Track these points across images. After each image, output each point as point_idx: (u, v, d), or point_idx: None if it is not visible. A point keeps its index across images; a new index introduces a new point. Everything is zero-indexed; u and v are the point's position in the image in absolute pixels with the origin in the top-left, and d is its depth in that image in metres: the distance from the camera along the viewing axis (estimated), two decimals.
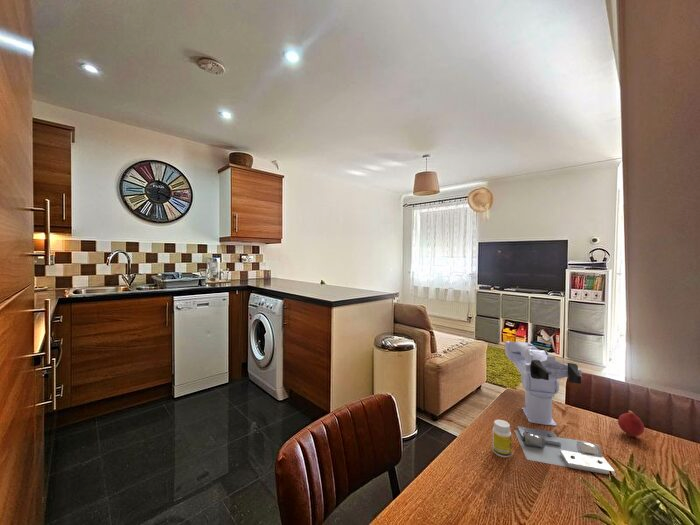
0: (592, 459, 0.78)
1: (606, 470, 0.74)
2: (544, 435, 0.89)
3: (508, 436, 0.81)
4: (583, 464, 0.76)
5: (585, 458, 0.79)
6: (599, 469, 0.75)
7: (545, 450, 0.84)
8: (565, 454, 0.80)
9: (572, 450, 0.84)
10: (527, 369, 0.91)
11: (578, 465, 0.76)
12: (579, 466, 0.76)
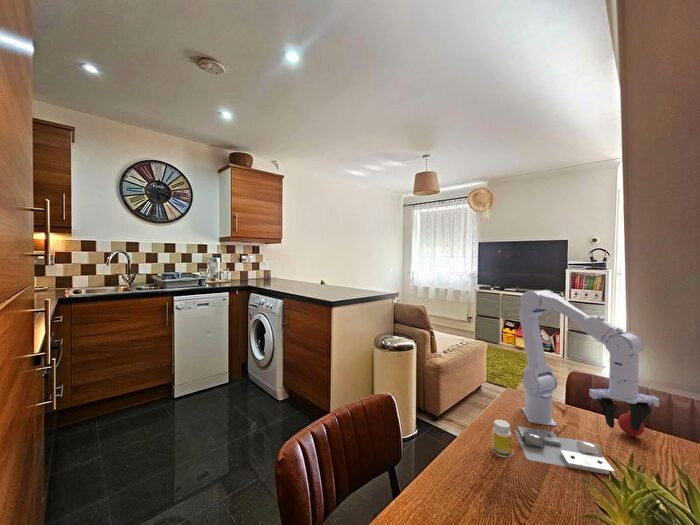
0: (592, 459, 0.78)
1: (606, 470, 0.74)
2: (544, 435, 0.89)
3: (508, 436, 0.81)
4: (583, 464, 0.76)
5: (585, 458, 0.79)
6: (599, 469, 0.75)
7: (545, 450, 0.84)
8: (565, 454, 0.80)
9: (572, 450, 0.84)
10: None
11: (578, 465, 0.76)
12: (579, 466, 0.76)
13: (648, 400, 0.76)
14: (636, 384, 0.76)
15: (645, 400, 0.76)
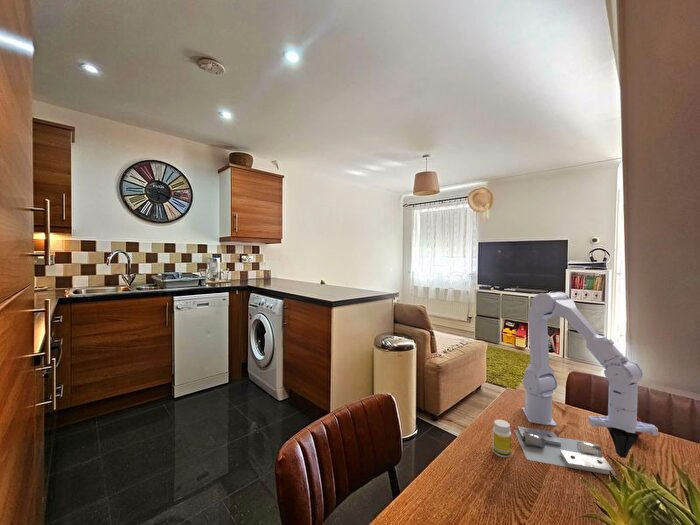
0: (592, 459, 0.78)
1: (606, 470, 0.74)
2: (544, 435, 0.89)
3: (508, 436, 0.81)
4: (583, 464, 0.76)
5: (585, 458, 0.79)
6: (599, 469, 0.75)
7: (545, 450, 0.84)
8: (565, 454, 0.80)
9: (572, 450, 0.84)
10: None
11: (578, 465, 0.76)
12: (579, 466, 0.76)
13: (647, 429, 0.77)
14: (635, 413, 0.77)
15: (644, 429, 0.77)
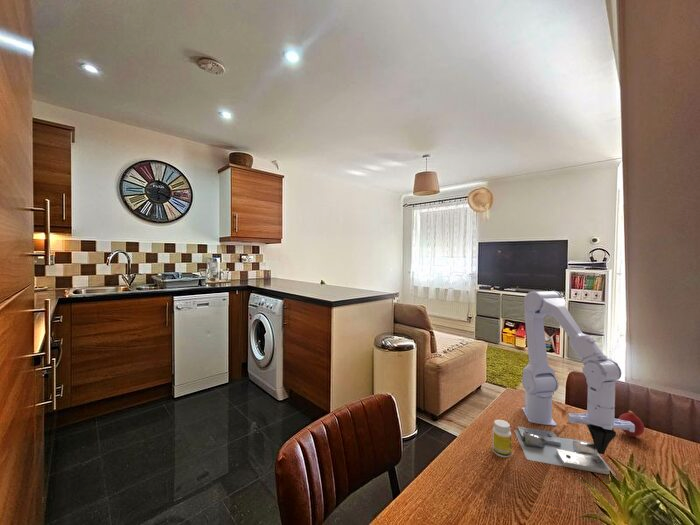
0: (588, 458, 0.78)
1: (601, 469, 0.75)
2: (544, 435, 0.89)
3: (508, 436, 0.81)
4: (579, 463, 0.77)
5: (581, 457, 0.79)
6: (594, 468, 0.75)
7: (545, 450, 0.84)
8: (561, 453, 0.80)
9: (572, 450, 0.84)
10: None
11: (573, 464, 0.76)
12: (575, 465, 0.76)
13: (624, 426, 0.78)
14: (612, 410, 0.78)
15: (621, 426, 0.78)
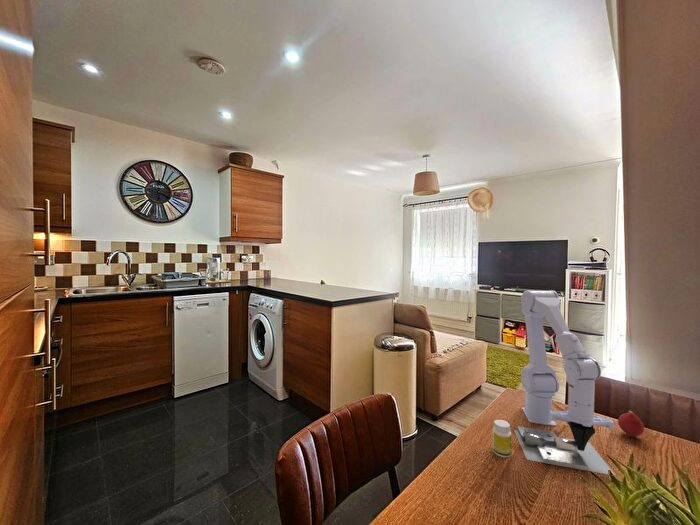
0: (567, 455, 0.80)
1: (580, 465, 0.76)
2: (544, 435, 0.89)
3: (508, 436, 0.81)
4: (558, 459, 0.78)
5: (561, 454, 0.80)
6: (573, 464, 0.76)
7: None
8: (541, 450, 0.82)
9: None
10: None
11: (553, 461, 0.78)
12: (554, 461, 0.78)
13: (603, 423, 0.79)
14: (592, 407, 0.79)
15: (600, 423, 0.79)
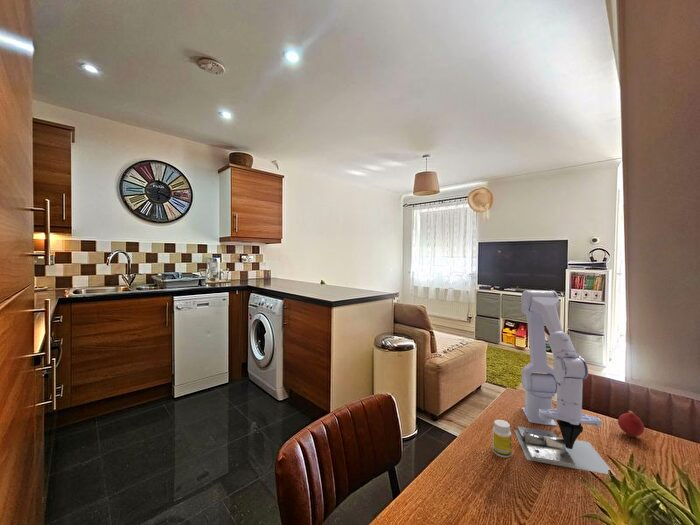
0: (555, 453, 0.81)
1: (567, 463, 0.77)
2: (544, 435, 0.89)
3: (508, 436, 0.81)
4: (546, 457, 0.79)
5: (549, 452, 0.81)
6: (561, 462, 0.77)
7: None
8: (530, 448, 0.82)
9: (572, 450, 0.84)
10: None
11: (541, 458, 0.79)
12: (542, 459, 0.78)
13: (591, 421, 0.80)
14: (579, 406, 0.80)
15: (588, 421, 0.80)
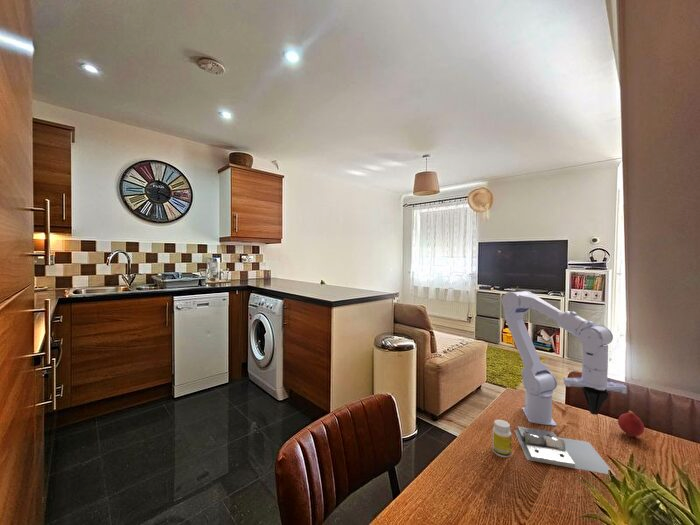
0: (555, 453, 0.81)
1: (567, 463, 0.77)
2: (544, 435, 0.89)
3: (508, 436, 0.81)
4: (546, 457, 0.79)
5: (548, 452, 0.81)
6: (560, 462, 0.77)
7: None
8: (530, 448, 0.82)
9: (572, 450, 0.84)
10: None
11: (541, 458, 0.79)
12: (542, 459, 0.79)
13: (616, 387, 0.83)
14: (605, 372, 0.83)
15: (613, 387, 0.83)
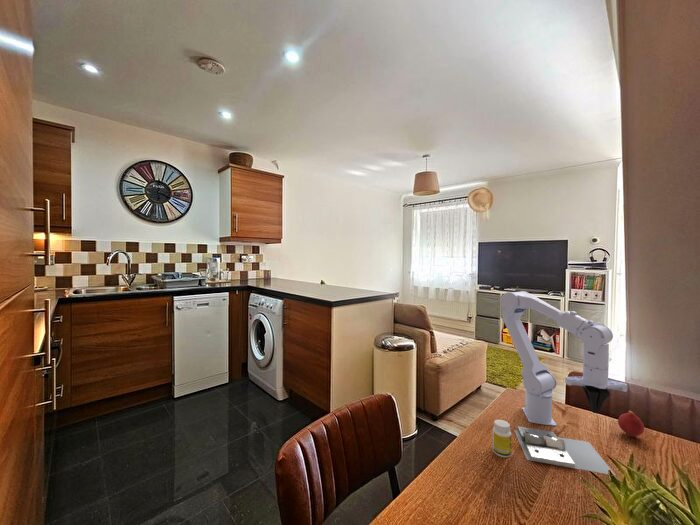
0: (555, 453, 0.81)
1: (567, 463, 0.77)
2: (544, 435, 0.89)
3: (508, 436, 0.81)
4: (546, 457, 0.79)
5: (548, 452, 0.81)
6: (560, 462, 0.77)
7: None
8: (530, 448, 0.82)
9: (572, 450, 0.84)
10: None
11: (541, 458, 0.79)
12: (542, 459, 0.79)
13: (617, 386, 0.84)
14: (606, 371, 0.84)
15: (614, 386, 0.84)
